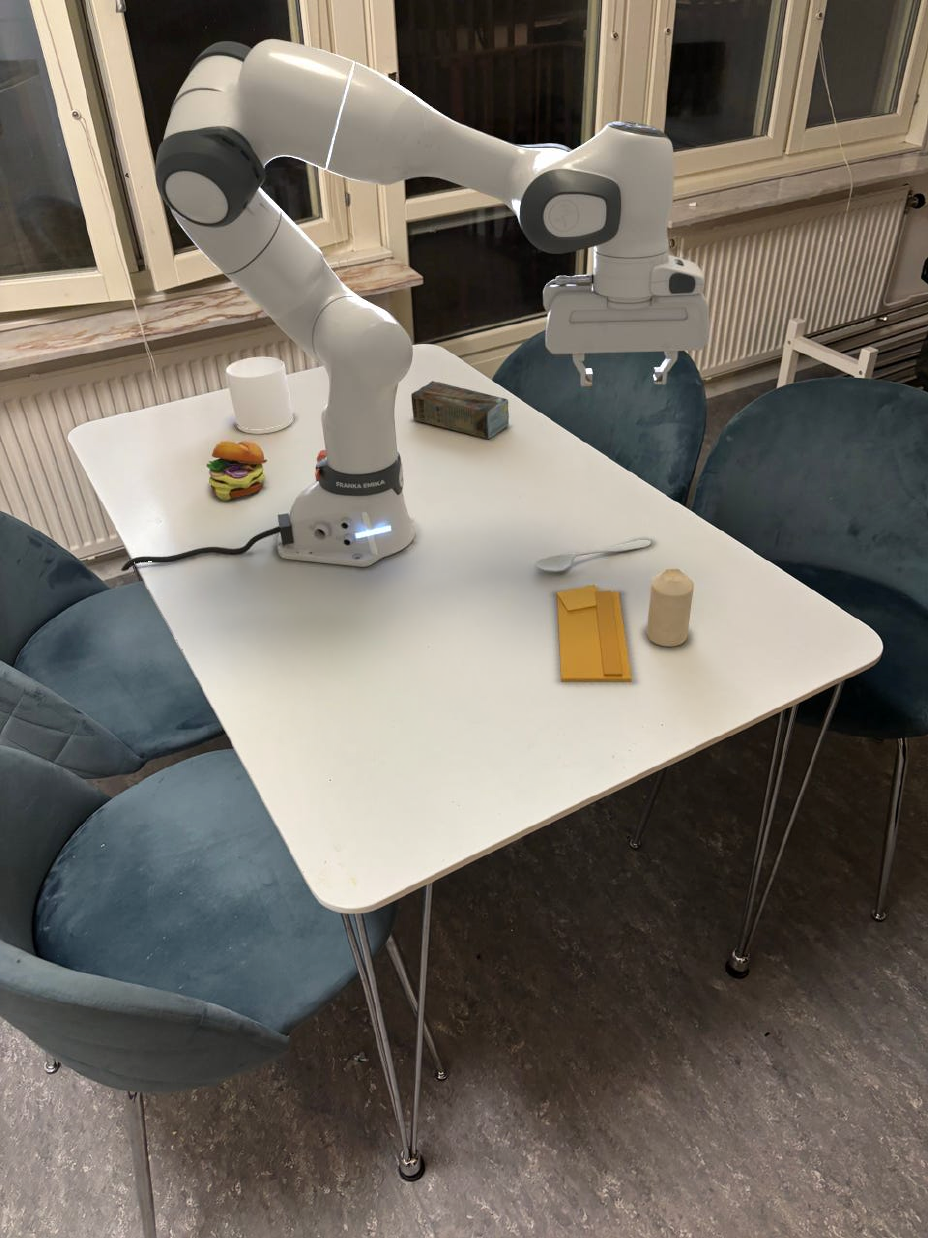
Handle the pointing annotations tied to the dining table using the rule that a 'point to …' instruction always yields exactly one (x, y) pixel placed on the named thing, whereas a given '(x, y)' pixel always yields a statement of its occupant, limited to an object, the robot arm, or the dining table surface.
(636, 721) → the dining table surface
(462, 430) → the beverage carton
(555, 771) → the dining table surface
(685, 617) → the candle
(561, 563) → the spoon
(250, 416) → the cup
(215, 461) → the cheeseburger
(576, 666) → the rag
